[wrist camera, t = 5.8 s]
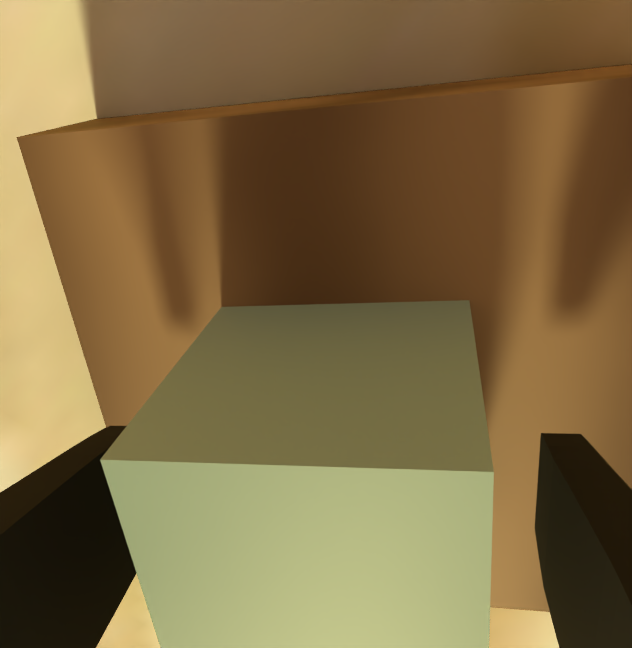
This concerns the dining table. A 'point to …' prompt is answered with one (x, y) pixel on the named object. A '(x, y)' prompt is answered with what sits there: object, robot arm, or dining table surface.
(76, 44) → the dining table surface
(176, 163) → the base block
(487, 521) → the cube
